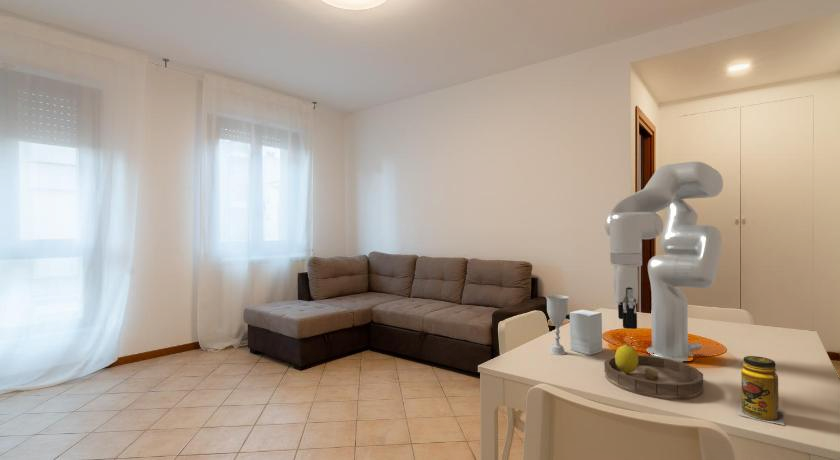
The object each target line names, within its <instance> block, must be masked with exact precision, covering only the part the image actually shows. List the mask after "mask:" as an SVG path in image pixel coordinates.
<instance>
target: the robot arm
mask: <svg viewBox="0 0 840 460" xmlns="http://www.w3.org/2000/svg"><path fill="white" fill-rule="evenodd" d="M723 188H724V180H723V177H722V174H721V173H720V172H719V171H718V170H717V169H716V168H714V167H712V166H711V165H709V164H708V163H705V162H702V161H688V162H687V161H686V162H679V163H669V164H664V165H662V166H660V167H659V168H657V169H656V170H655V172H654V173H653V174H652V176H651V177H650V179H649V180H648V182H647V183H646V184H645V186H644V188H643V189H641V190H638V191H636V192H634V193H633V194H630V195H629V196H627V197H625V198H623V199H621V200H620V201H618V202H617V203H616V204H615V205H614V206H613V208H612V209H611V210H610V211H609V213H608V215H607V217H606V219H605V224H604V230H605V232H606V234H607V235H608V236H609V250H610V251H609V256H610V258H609V259H610V261H609V263H610V266H613V268H614V269H613V297H614V300H615V302H616V304H617V312H618V314H617V315H618V317H617V318H618V319H620V320H622V328H623V329H629V330H630V329H632V330H636V329H638V313H637V307H636V305H637V304H638V303H639V272H638V271H639V270H638V267H641V266H643V250H642V249H643V241H642V240H652V239H655V238H657V237H659V236H660V235H661V238H660V249H661V250H662V251H663V252H664V253H666V254H664V253H662V254H661V253H660V254H657V255H654V256H652V257H651V258H650V259H649V260H648V263H647V272H648V273H647V274H648V278H649V282H650V291H651V292H650V293H651V295H650V296H651V346H649V347H646V351H647V352H648V353H650V354H651V355H652V356H654V357H661V358H666V359H670V360H675V361H680V362H682V363H684V362H683V361H688V359H689V358H687V357H688V356H694V357H695V355H694V353H692V351H698V350H702V344H701V343H699V342H697V343H696V342H695V343H691V342H689V341H688V340H689V339H688V338H689V336H688V335H689V334H688V332H689V329H688V327H689V326H688V325H689V324H688V323H689V322H688V318H689V317H688V315H689V314H688V311H689V310H688V308H689V307H688V306H689V305H688V298H687V296H686V295H685V293H684V292H683V290H682V289H681V288H680V287H684V288H695V289H708V288H710V287H712V286H713V285H714V283H715V281H716V277H717V272H718V267H719V262H720V257H721V252H722V247H723V245H722V244H723V239H722V234H721V232H720V229H718V228H717V226H716V227H715V226H714V225H709V224H697V221H698V216H699V215H698V213H697V212H696V210H695V209H694V207H692V206H691V205H690V204H689V203H688V202H687V201H686V199H705V198H714V197H717V196H719V194H721V192H722V191H723ZM664 210H665V211H666V217H665V222H664V221H663V219H662V216H660V215H659V214H658V212H661V211H664ZM646 351H645V352H646ZM653 353H654V354H653Z"/></svg>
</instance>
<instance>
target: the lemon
mask: <svg viewBox="0 0 840 460" xmlns="http://www.w3.org/2000/svg"><path fill="white" fill-rule="evenodd" d="M637 355H638V353H637V351H636V350H635V349H634V348H633V347H632V346H629V345H628V344H624V345H621V346H618V348H616V351H615V355H614V356H615V362H616V365H617V367H618V368H619V369H620V370H621V371H623V372H624V373H625V374H629V373H630V372H633V371H635V370H636V368H637V366H638V356H637Z"/></svg>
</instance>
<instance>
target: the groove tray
mask: <svg viewBox="0 0 840 460" xmlns="http://www.w3.org/2000/svg"><path fill="white" fill-rule="evenodd" d="M637 356H638V366H637V368H636V370H635V371H633V372H630V373H629V374H625V373H624V372H623V371H621V370H620V369H619V368H618V367H617V365H616V362H615V355H613V356H610V357H608V358H606V359H605V361H604V362H603V364H604V365H603V366H604V368H603V370H604V373H605V374H604V375H605V379H606V380H607V381H608V382H609V383H610V384H612V385H613V386H615V387H618V388H620V389H622V390H623V391H624V390H625V391H627V392H630V393H633V394H635V395H641V396H645V397H648V398H654V399H655V398H656V399H664V400H675V401H676V400H679V401H680V400H691V399H694V398H695V399H696V398H699V397H700V396H701V395H703V393H704V374H703V373H702V372H701V371H700V370H699V369H697V368H696V367H693V366H691V365H689V364H687V363H685V362H678V361H674V360H670V359H666V358H661V357H654V356H649V355H648V354H637Z"/></svg>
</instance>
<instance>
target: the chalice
mask: <svg viewBox="0 0 840 460" xmlns="http://www.w3.org/2000/svg"><path fill="white" fill-rule="evenodd" d="M544 297H545V298H546V312H547V315H548V317H549V319H550V321H551V324H552V325H553V326H555V330H554V334H555V336H554V338H555V343H554V344H552V345H551V347H550V350H549V354H552V355H557V356H562V355H566V351H565V347H564V346H563V345H562V344H561V343H560V339H561V336H560V332H561V331H560V326H562V325H563V324H564V321H565V320H566V318H567V315H568V300H569V298H570V297H569V296H567V295H562V294H549V295H548V294H547V295H545V296H544Z"/></svg>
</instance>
